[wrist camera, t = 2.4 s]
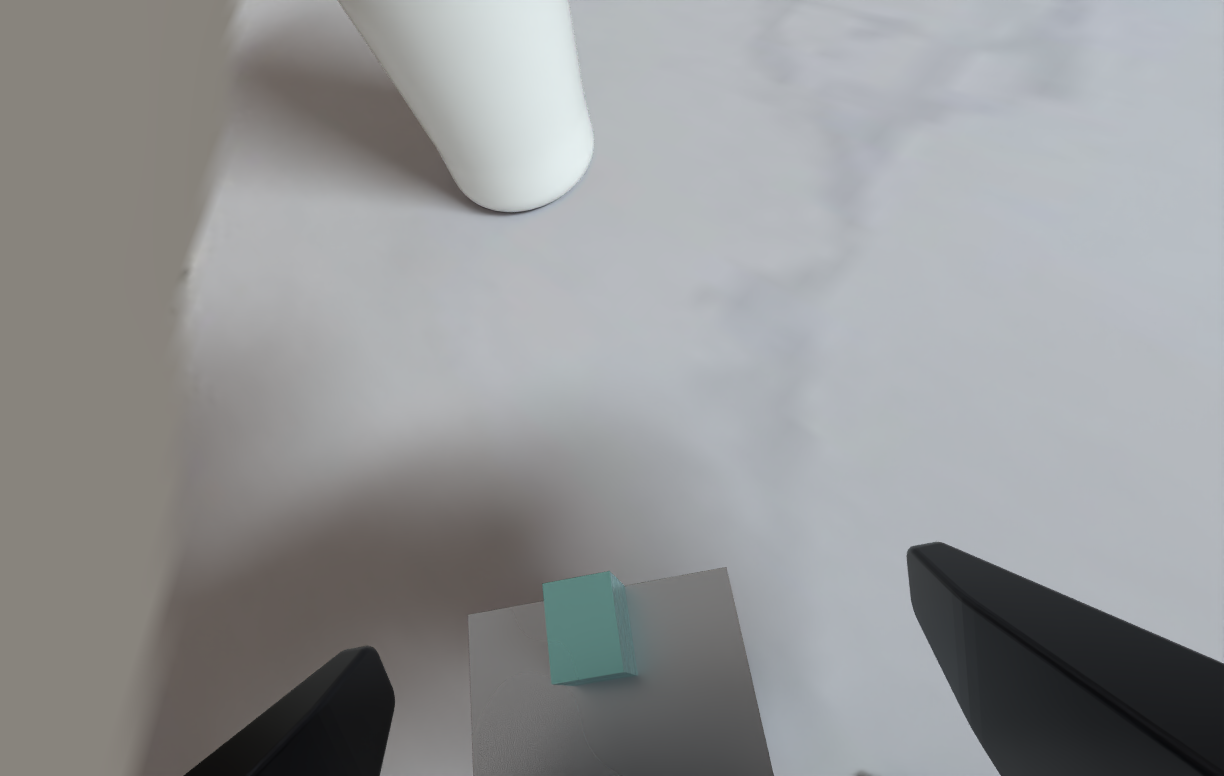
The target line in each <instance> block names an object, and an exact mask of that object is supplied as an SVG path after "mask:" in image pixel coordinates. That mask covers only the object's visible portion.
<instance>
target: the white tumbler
mask: <svg viewBox="0 0 1224 776" xmlns="http://www.w3.org/2000/svg"><path fill="white" fill-rule="evenodd" d="M337 1H338V2H339V4H340V5H341V7H342V8H343V10H344V11H345V13H346V14H347V16H348V17H349V19H350V20H351V22H352V23H353V25H354V26H355V27H356V29H357V30H358V32H359V33H360V35H361V36H362V38H363V39H364V41H365V42H366V44H367V45H368V47H369V48H370V50H371V51H372V53H373V54H374V56H375V57H376V59H377V60H378V62H379V63H380V65H381V66H382V68H383V69H384V70H385V72H386V73H387V75H388V76H389V78H390V79H391V81H392V82H393V84H394V85H395V87H396V88H397V90H398V91H399V93H400V94H401V96H402V97H403V99H404V100H405V102H406V103H407V105H408V106H409V108H410V109H411V111H412V112H413V114H414V115H415V117H416V118H417V120H418V121H419V123H420V124H421V126H422V127H423V129H424V130H425V132H426V133H427V135H428V137H429V138H430V140H431V141H432V143H433V144H434V146H435V147H436V149H437V150H438V152H439V154H440V156H441V157H442V159H443V161H444V163H445V165H446V167H447V168H448V170H449V172H450V174H451V176H452V177H453V179H454V181H455V183H456V184H457V186H458V187H459V188H460V190H461V191H462V192H463V193H464V194H465V195H466V196H467V197H468V198H469V199H470V200H472V201H473V202H475V203H477V204H478V205H480V206H482V207H485V208H488V209H491V210H495V211H501V212H520V211H527V210H531V209H535V208H538V207H541V206H544V205H546V204H549V203H551V202H553V201H555V200H556V199H558V198H560V197H561V196H563V195H564V194H566V193H567V192H568V191H569V190H570V189H572V188H573V187H574V186H575V185H576V184H577V183H578V181H579V180H580V179H581V178H582V176H583V175H584V174H585V172H586V170H587V168H588V166H589V164H590V162H591V159H592V155H593V151H594V131H593V126H592V122H591V118H590V114H589V110H588V106H587V102H586V98H585V94H584V89H583V83H582V77H581V71H580V65H579V59H578V53H577V46H576V40H575V34H574V28H573V22H572V15H571V9H570V3H569V0H337Z"/></svg>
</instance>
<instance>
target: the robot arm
mask: <svg viewBox="0 0 1224 776" xmlns="http://www.w3.org/2000/svg"><path fill="white" fill-rule="evenodd" d="M907 566H908V576H909V586H910V595H911V602H912V606H913V610H914V613H915V615H916V618H917V620H918V622H919V624H920V626H921V628H922V630H923V632H924V634H925V636H926V638H927V640H928V642H929V644H930V646H931V648H932V650H933V652H934V654H935V656H936V658H937V660H938V662H939V664H940V666H941V668H942V670H943V673H944V675H945V677H946V679H947V681H948V683H949V685H950V687H951V689H952V691H953V693H954V695H955V697H956V699H957V701H958V703H959V705H960V707H961V709H962V711H963V713H964V715H965V717H966V719H967V721H968V722H969V724H970V726H971V728H972V730H973V732H974V733H975V735H976V737H977V738H978V740H979V742H980V743H981V745H982V747H983V748H984V750H985V751H986V753H987V755H988V756H989V758H990V759H991V761H992V762H993V764H994V766H995V767H996V769H997V770H998V772H999V774H1000V775H1001V776H1224V663H1221V662H1219V661H1217V660H1214V659H1212V658H1210V657H1207V656H1205V655H1203V654H1200V653H1198V652H1196V651H1193V650H1191V649H1189V648H1186V647H1184V646H1182V645H1180V644H1177V643H1175V642H1173V641H1170V640H1168V639H1166V638H1163V637H1161V636H1159V635H1156V634H1154V633H1152V632H1149V631H1147V630H1145V629H1142V628H1140V627H1138V626H1135V625H1133V624H1131V623H1128V622H1126V621H1124V620H1121V619H1119V618H1117V617H1114V616H1112V615H1110V614H1107V613H1105V612H1103V611H1101V610H1098V609H1096V608H1094V607H1091V606H1089V605H1087V604H1084V603H1082V602H1080V601H1077V600H1075V599H1073V598H1070V597H1068V596H1066V595H1063V594H1061V593H1059V592H1056V591H1054V590H1052V589H1049V588H1047V587H1045V586H1042V585H1040V584H1038V583H1035V582H1033V581H1031V580H1028V579H1026V578H1024V577H1022V576H1019V575H1017V574H1015V573H1012V572H1010V571H1008V570H1005V569H1003V568H1001V567H998V566H996V565H994V564H991V563H989V562H987V561H984V560H982V559H980V558H977V557H975V556H973V555H970V554H968V553H966V552H963V551H961V550H959V549H956V548H954V547H952V546H949V545H947V544H945V543H942V542H933V543H927V544H922V545H916V546H912V547H910V548H909V549H908V551H907ZM394 707H395V696H394V691H393V688H392V685H391V683H390V680H389V678H388V676H387V673H386V671H385V669H384V666H383V664H382V662H381V659H380V657H379V654H378V653H377V651H376V650H375V649H374V648H373V647H371V646H363V647H358V648H352V649H347V650H344V651H342V652H340V653H339V654H338V655H336V656H335V657H334V658H333V659H331V660H330V661H329V662H327V663H326V664H325V665H324V666H322V667H321V668H320V669H319V670H317V671H316V672H315V673H313V674H312V675H311V676H310V677H308V678H307V679H306V680H305V681H303V682H302V683H301V684H299V685H298V686H297V687H296V688H294V689H293V690H292V691H291V692H289V693H288V694H287V695H285V696H284V697H283V698H282V699H280V700H279V701H278V702H277V703H275V704H274V705H273V706H271V707H270V708H269V709H268V710H266V711H265V712H264V713H263V714H261V715H260V716H259V717H258V718H256V719H255V720H254V721H252V722H251V723H250V724H249V725H247V726H246V727H245V728H244V729H242V730H241V731H240V732H238V733H237V734H236V735H235V736H233V737H232V738H231V739H230V740H228V741H227V742H226V743H224V744H223V745H222V746H221V747H219V748H218V749H217V750H216V751H214V752H213V753H212V754H210V755H209V756H208V757H207V758H205V759H204V760H203V761H202V762H200V763H199V764H198V765H197V766H195V767H194V768H193V769H191V770H190V771H189V772H188V773H186V774H185V775H184V776H380V772H381V768H382V763H383V759H384V754H385V749H386V745H387V740H388V736H389V731H390V726H391V722H392V717H393V713H394Z"/></svg>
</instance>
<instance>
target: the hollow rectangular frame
mask: <svg viewBox="0 0 1224 776" xmlns="http://www.w3.org/2000/svg"><path fill="white" fill-rule="evenodd" d="M542 586H543V597H544V601H540V602H534V603H529V604H524V605H518V606H513V607H507V608H502V609H497V610H491V611H486V612H480V613H475V614H469V615H468V636H469V664H470V693H471V721H472V749H473V776H774V774H773V770H772V766H771V761H770V757H769V752H768V748H767V744H766V739H765V735H764V730H763V726H762V722H761V717H760V713H759V708H758V704H757V700H756V695H755V691H754V686H753V682H752V678H751V673H750V669H749V664H748V660H747V656H746V651H745V647H744V642H743V638H742V634H741V629H740V625H739V620H738V616H737V612H736V607H735V603H734V598H733V594H732V590H731V585H730V581H729V576H728V572H727V568H726V567H724V568H719V569H713V570H708V571H702V572H697V573H692V574H686V575H681V576H675V577H670V578H664V579H659V580H654V581H648V582H643V583H637V584H632V585H627V586H624V585H623V584H622V583H621V582H620V581H619V580H618V579H617V578H616V577H615V576H614V575H613V574H612V573H611V572H610V571H607V572H602V573H596V574H591V575H586V576H580V577H575V578H570V579H564V580H559V581H554V582H548V583H543V584H542Z"/></svg>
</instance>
